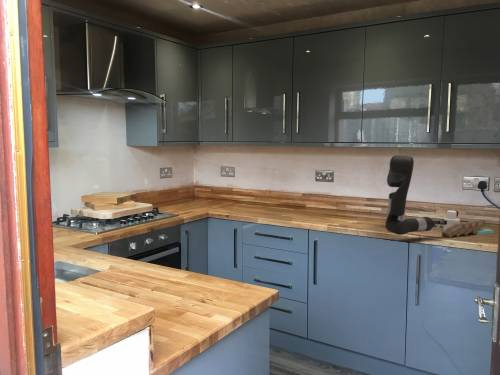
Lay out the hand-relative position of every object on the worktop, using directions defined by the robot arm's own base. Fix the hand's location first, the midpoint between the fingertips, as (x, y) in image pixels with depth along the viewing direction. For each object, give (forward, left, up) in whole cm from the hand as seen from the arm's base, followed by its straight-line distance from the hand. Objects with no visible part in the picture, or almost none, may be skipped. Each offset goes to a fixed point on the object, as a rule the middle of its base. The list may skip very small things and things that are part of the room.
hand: (445, 222), depth 224 cm
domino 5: (0, +22, -8) cm, 23 cm away
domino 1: (0, 0, -7) cm, 7 cm away
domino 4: (-1, +18, -7) cm, 20 cm away
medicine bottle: (-11, +16, -8) cm, 21 cm away
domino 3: (0, +12, -7) cm, 14 cm away
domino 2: (0, +6, -7) cm, 9 cm away
